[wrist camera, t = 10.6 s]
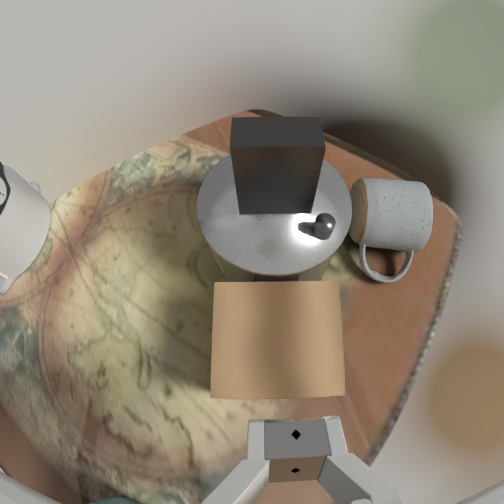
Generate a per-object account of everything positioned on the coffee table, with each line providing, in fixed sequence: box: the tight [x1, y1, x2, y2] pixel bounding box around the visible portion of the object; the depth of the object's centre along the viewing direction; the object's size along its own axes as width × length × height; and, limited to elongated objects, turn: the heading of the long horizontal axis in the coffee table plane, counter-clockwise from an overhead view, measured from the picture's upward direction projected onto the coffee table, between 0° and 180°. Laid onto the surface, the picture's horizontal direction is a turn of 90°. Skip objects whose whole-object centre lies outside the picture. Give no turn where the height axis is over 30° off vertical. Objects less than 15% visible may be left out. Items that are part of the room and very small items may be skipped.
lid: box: [197, 117, 352, 277], centre depth 23 cm, size 14×14×9 cm
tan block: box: [210, 280, 345, 399], centre depth 25 cm, size 10×9×7 cm
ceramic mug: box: [349, 178, 433, 283], centre depth 29 cm, size 11×8×8 cm
